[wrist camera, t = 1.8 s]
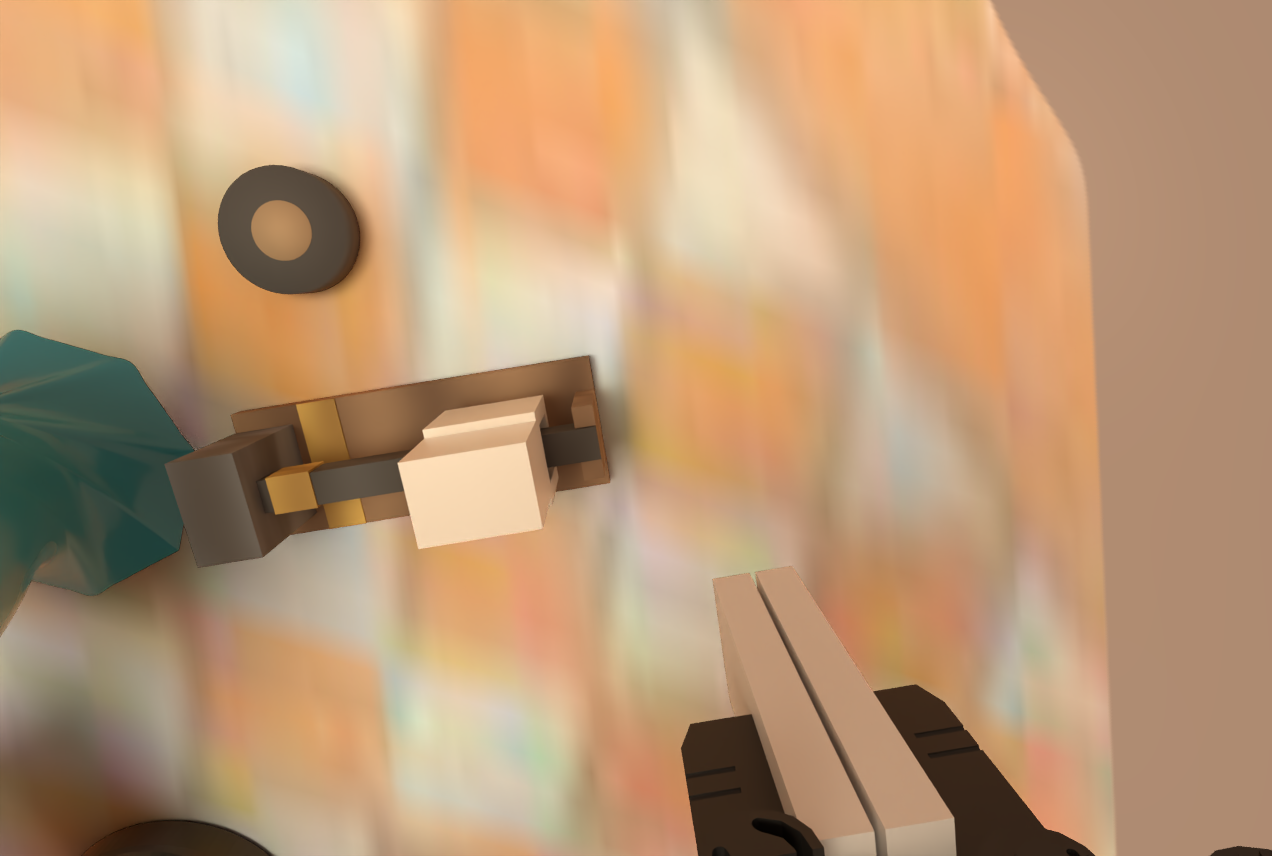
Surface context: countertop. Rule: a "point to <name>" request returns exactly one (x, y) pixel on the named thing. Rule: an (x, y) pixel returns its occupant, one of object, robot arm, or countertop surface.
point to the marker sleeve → (479, 473)
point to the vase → (80, 470)
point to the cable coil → (288, 230)
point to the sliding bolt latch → (361, 456)
